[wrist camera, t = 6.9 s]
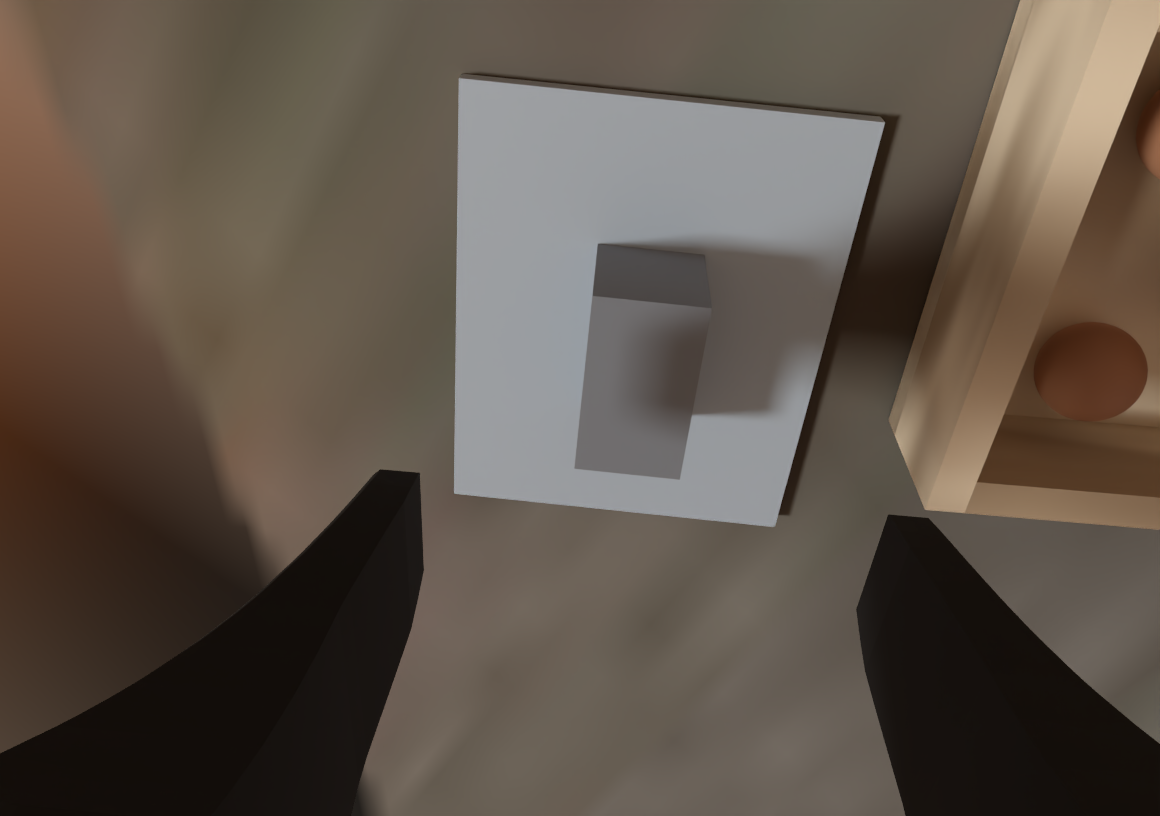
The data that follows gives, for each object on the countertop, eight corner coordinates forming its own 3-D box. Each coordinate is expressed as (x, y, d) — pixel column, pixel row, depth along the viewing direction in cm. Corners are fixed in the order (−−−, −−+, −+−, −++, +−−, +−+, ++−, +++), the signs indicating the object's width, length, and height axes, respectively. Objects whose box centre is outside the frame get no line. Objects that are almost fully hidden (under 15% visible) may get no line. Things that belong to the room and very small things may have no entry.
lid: (770, 501, 23) (787, 596, 20) (460, 469, 23) (435, 560, 20) (873, 107, 18) (917, 164, 15) (467, 65, 18) (434, 114, 15)
